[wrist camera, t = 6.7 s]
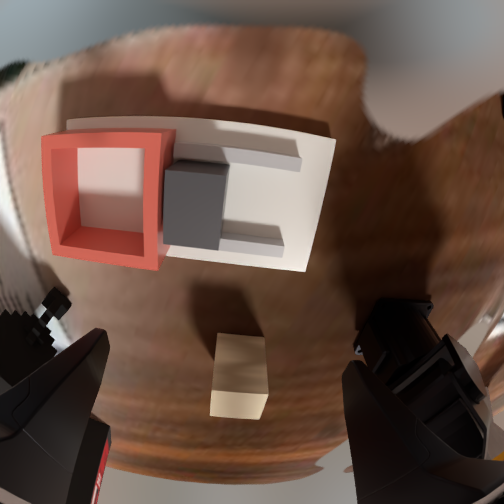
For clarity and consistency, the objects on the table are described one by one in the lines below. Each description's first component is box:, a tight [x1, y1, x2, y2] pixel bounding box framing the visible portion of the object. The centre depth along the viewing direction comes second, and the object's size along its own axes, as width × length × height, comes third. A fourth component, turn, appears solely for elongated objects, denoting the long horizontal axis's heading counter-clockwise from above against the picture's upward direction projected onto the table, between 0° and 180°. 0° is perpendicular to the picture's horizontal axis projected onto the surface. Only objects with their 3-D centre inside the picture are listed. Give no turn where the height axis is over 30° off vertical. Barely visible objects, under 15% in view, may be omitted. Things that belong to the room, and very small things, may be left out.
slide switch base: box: [41, 116, 336, 272], centre depth 16 cm, size 17×9×4 cm, turn 82°
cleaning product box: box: [65, 418, 111, 504], centre depth 25 cm, size 16×9×20 cm, turn 68°
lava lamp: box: [483, 387, 504, 461], centre depth 20 cm, size 9×9×35 cm
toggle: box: [163, 160, 230, 251], centre depth 15 cm, size 3×4×3 cm
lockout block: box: [210, 333, 268, 419], centre depth 22 cm, size 4×4×6 cm
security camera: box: [0, 287, 72, 395], centre depth 19 cm, size 7×18×10 cm, turn 127°
